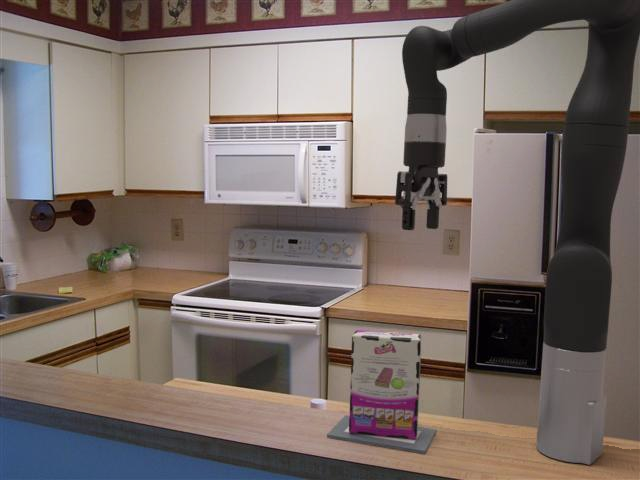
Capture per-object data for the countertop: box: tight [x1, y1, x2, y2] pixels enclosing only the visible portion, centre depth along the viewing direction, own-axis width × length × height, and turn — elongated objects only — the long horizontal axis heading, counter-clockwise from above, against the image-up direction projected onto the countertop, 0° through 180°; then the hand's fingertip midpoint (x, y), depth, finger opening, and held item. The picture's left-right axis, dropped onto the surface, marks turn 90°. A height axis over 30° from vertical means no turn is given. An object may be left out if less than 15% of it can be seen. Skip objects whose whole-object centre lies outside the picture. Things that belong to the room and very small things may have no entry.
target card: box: [326, 414, 437, 455], centre depth 112 cm, size 16×10×1 cm, turn 70°
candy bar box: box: [348, 329, 422, 439], centre depth 111 cm, size 11×5×16 cm, turn 80°
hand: (420, 229), depth 125 cm, fingers open, 8 cm apart
